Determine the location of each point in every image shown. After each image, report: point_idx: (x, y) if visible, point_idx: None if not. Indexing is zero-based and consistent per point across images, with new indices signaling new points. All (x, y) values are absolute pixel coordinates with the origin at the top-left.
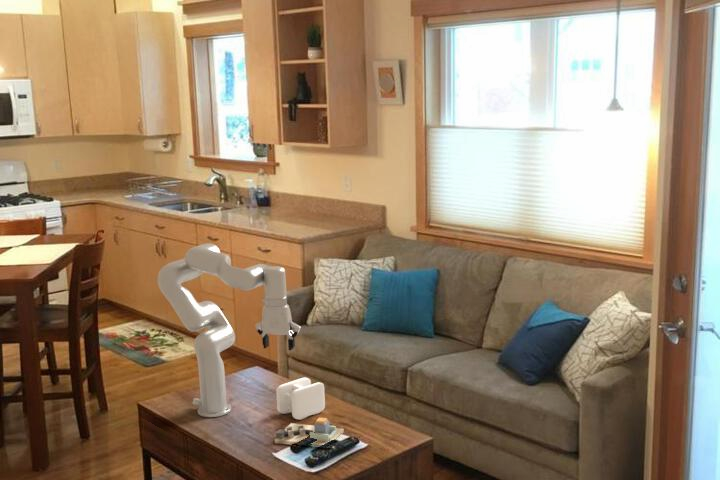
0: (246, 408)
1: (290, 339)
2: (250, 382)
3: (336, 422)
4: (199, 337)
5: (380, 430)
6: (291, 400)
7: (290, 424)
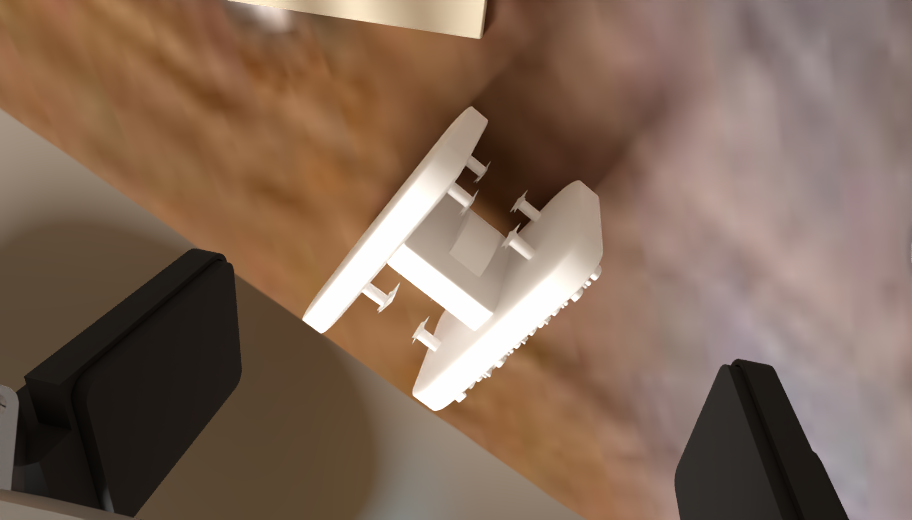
0: (806, 270)
1: (42, 408)
2: None
3: (258, 112)
4: None
5: (22, 31)
6: (516, 252)
7: (476, 17)
